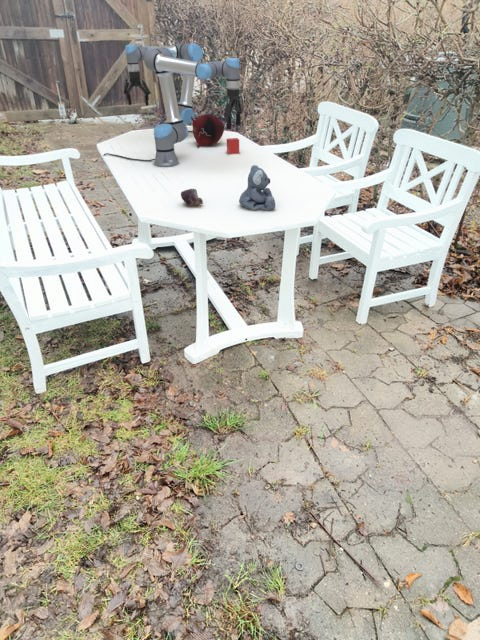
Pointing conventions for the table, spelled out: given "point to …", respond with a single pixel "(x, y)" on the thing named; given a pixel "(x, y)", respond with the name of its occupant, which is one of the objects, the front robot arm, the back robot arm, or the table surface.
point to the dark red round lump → (207, 129)
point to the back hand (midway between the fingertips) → (138, 105)
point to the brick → (233, 146)
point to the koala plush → (257, 191)
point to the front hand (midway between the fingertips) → (233, 127)
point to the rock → (191, 197)
